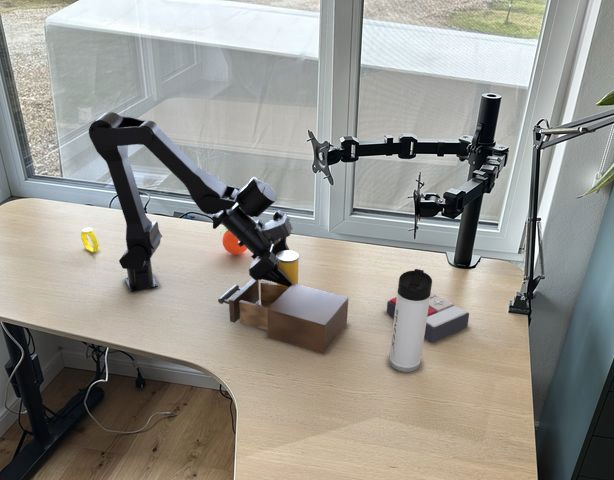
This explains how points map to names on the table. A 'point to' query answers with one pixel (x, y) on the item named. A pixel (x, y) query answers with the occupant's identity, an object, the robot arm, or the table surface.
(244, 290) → the drawer
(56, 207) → the table surface
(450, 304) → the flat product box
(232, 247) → the clementine
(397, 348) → the travel mug
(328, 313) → the cabinet
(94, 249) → the watch
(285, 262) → the tin
